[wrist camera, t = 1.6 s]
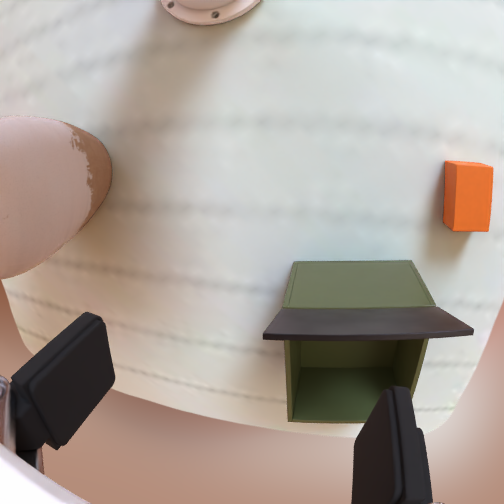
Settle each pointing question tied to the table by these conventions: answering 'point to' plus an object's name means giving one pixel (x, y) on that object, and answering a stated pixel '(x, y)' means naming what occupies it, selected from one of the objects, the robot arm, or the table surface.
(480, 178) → the block
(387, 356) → the olive green hollow box
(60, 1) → the table surface
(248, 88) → the table surface
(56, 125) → the vase
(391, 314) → the flap
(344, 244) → the table surface
